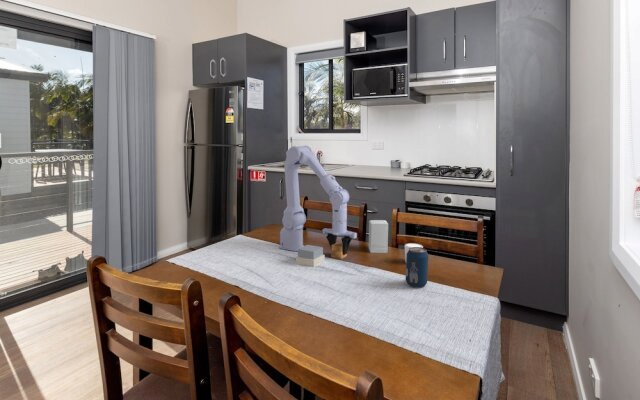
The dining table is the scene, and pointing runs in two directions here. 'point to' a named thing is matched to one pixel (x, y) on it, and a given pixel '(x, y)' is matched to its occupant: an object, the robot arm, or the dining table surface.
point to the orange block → (338, 251)
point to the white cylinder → (410, 247)
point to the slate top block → (310, 252)
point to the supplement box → (378, 236)
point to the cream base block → (310, 261)
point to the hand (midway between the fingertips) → (339, 253)
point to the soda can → (417, 267)
